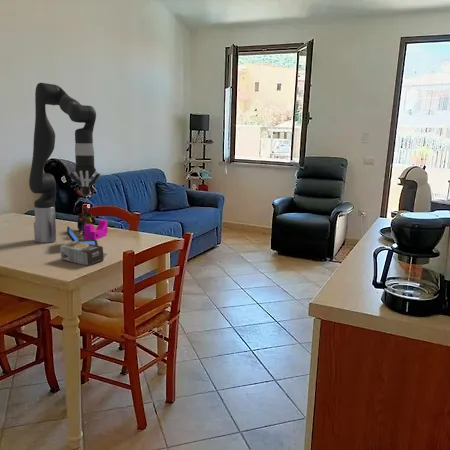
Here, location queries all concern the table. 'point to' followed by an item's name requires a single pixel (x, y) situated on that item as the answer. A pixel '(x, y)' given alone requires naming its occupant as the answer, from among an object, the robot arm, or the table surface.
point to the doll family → (84, 220)
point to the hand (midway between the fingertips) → (86, 195)
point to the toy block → (95, 231)
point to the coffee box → (82, 253)
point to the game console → (74, 238)
